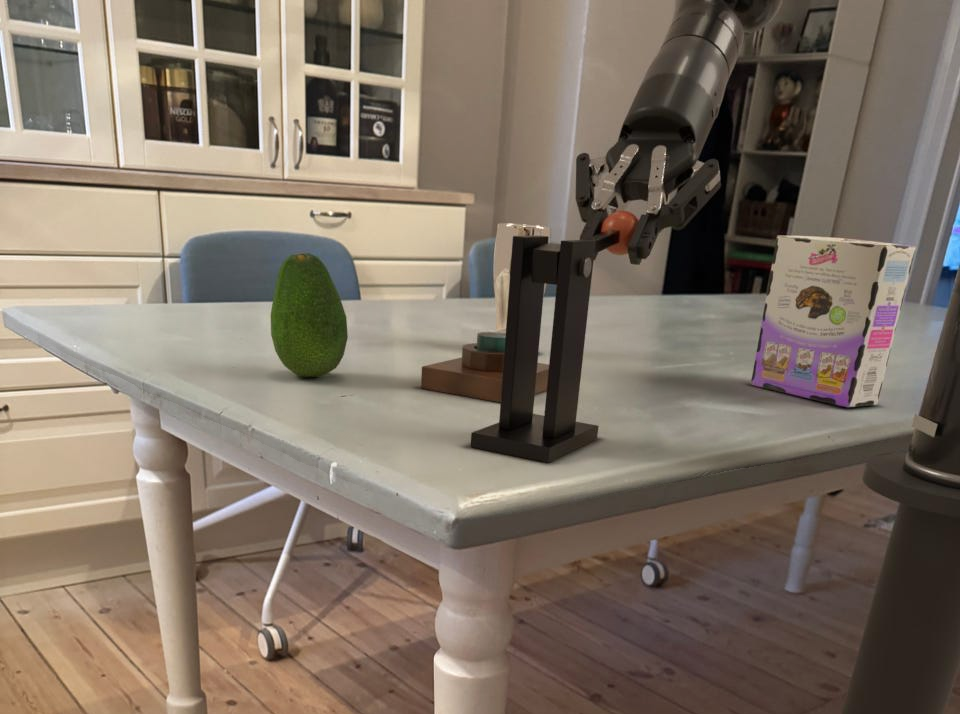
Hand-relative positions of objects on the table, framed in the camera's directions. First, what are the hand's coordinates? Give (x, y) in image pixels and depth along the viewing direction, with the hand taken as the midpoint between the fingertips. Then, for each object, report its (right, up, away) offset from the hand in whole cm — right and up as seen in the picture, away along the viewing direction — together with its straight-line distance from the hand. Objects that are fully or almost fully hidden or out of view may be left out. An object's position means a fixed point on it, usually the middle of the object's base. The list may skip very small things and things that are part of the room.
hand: (610, 254), depth 81 cm
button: (-10, -4, +15) cm, 19 cm away
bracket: (-7, -17, -3) cm, 19 cm away
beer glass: (-7, +4, +39) cm, 40 cm away
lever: (-2, -3, -3) cm, 5 cm away
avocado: (-29, -6, +16) cm, 34 cm away
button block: (-10, -7, +17) cm, 21 cm away
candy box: (+26, -6, +25) cm, 37 cm away
